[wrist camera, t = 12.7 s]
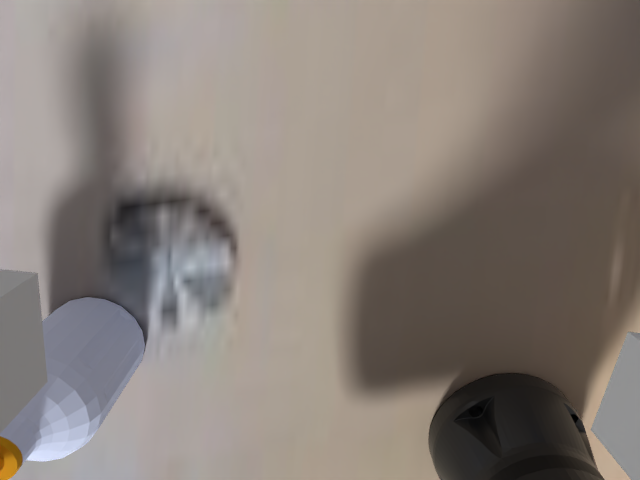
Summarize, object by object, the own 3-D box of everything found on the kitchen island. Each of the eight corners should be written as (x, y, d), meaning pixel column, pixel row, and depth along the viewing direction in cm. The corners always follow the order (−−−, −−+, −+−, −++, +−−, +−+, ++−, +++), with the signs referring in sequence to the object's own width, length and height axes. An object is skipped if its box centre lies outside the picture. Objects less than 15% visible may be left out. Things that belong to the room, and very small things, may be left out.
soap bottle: (61, 380, 44) (-225, 709, 21) (40, 296, 41) (-322, 569, 18) (152, 377, 44) (-31, 702, 21) (137, 293, 41) (-96, 561, 18)
